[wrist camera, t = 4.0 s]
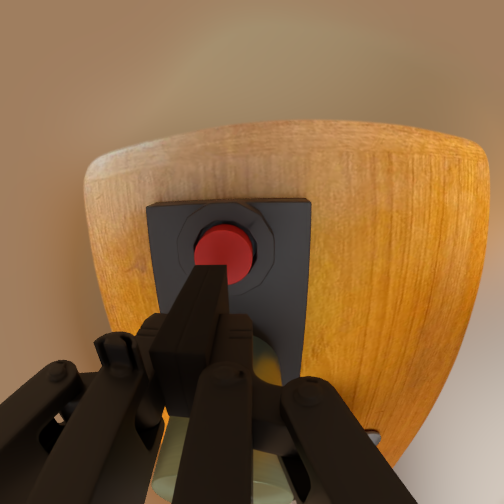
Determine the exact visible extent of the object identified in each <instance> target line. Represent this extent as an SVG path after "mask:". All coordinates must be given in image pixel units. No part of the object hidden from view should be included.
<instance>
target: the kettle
mask: <svg viewBox="0 0 504 504" xmlns="http://www.w3.org/2000/svg"><path fill="white" fill-rule="evenodd" d="M253 371H254V373H255V374H256V376H258V377H259V378H260V379H261V380H263V381H265V382H267V383H270V384H274V385H278V386H282V380H281V372H280V364H279V359H278V357H277V354H276V353H275V351H274V350H273V349H272V348H271V346H269V345H268V344H267V343H266V342H264V341H263V340H261V339H260V338H258V337H256V336H253ZM188 423H189V418H186V417H176V416H170V418H169V421H168V425H167V428H166V432H165V436H164V439H163V443H162V446H161V450H160V454H159V457H158V461H157V465H156V469H155V472H154V476H153V480H152V489H153V490H154V491H155V493H157V494H158V495H159V496H160V497H162V498H163V499H165V500H167V501H169V502H171V503H172V498H173V493H174V488H175V483H176V478H177V473H178V469H179V464H180V459H181V455H182V450H183V445H184V441H185V436H186V432H187V427H188ZM293 499H294V496H293V493H292V491H291V489H290V486H289V484H288V482H287V479H286V477H285V474H284V472H283V470H282V467H281V465H280V462H279V460H278V457H277V455H274V454H270V453H266V452H262V451H258V450H254V449H253V504H290V503H292V501H293Z"/></svg>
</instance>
